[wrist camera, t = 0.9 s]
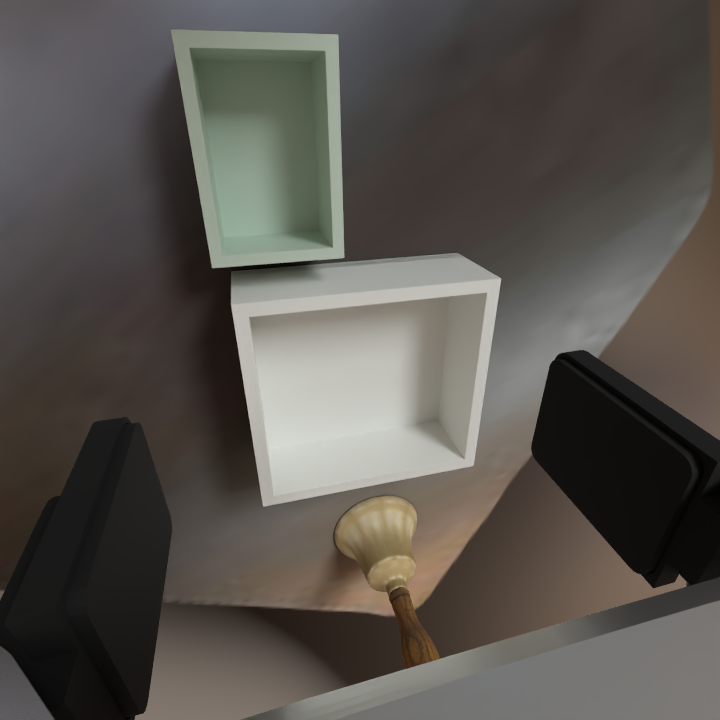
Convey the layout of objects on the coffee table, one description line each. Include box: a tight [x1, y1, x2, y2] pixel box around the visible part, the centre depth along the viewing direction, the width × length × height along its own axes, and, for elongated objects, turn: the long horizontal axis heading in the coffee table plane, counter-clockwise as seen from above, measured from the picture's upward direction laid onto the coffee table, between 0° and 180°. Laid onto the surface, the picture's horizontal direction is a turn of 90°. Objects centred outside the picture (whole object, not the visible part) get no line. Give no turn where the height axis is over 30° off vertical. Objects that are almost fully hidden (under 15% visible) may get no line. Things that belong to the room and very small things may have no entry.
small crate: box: [171, 29, 344, 268], centre depth 23 cm, size 10×7×5 cm
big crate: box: [231, 253, 501, 507], centre depth 31 cm, size 15×16×6 cm
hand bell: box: [334, 496, 440, 669], centre depth 36 cm, size 8×8×16 cm
